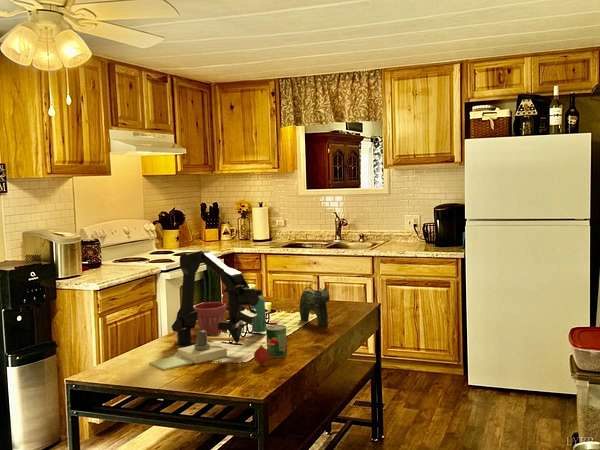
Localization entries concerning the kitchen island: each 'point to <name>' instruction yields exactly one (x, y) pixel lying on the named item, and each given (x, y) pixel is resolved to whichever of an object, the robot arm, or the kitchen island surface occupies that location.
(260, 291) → the beverage bottle
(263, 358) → the onion
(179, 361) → the pale green mat
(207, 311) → the plant pot
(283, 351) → the canned tomato
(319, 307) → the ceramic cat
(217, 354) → the socket block
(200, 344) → the plug
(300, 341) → the kitchen island surface
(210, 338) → the lever
